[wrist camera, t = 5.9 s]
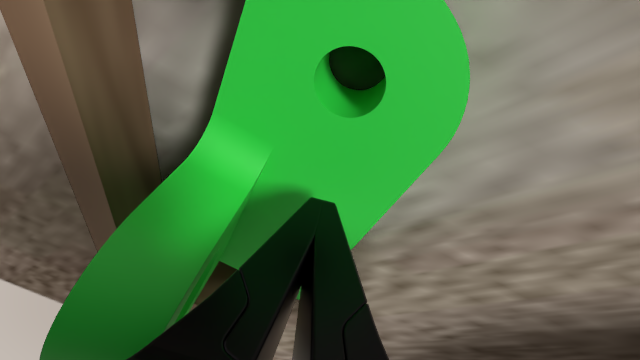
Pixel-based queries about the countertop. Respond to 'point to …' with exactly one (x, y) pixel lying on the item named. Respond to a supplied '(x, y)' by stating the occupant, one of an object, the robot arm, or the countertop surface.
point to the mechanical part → (275, 159)
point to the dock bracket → (94, 105)
